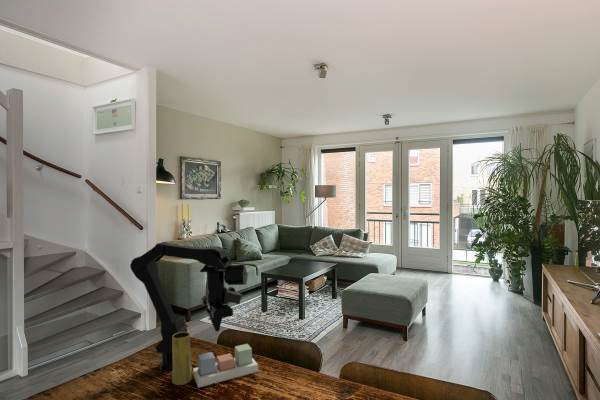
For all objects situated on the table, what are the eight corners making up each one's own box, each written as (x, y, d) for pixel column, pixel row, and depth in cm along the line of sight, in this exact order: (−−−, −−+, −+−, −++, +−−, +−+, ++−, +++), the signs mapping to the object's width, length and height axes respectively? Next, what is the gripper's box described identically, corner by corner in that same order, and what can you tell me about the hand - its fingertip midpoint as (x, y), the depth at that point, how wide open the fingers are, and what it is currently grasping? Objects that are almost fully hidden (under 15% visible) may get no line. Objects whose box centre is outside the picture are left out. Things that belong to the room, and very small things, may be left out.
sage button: (235, 361, 116) (234, 346, 116) (247, 358, 118) (247, 343, 118) (239, 367, 112) (238, 351, 112) (252, 363, 114) (251, 348, 114)
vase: (186, 386, 106) (184, 339, 105) (167, 384, 107) (166, 338, 107) (196, 376, 112) (194, 331, 111) (178, 374, 113) (177, 330, 113)
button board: (193, 375, 112) (193, 368, 112) (249, 361, 120) (249, 354, 120) (198, 387, 105) (198, 379, 105) (258, 371, 113) (257, 364, 113)
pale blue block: (198, 370, 111) (197, 355, 111) (212, 367, 113) (211, 351, 113) (201, 376, 107) (200, 360, 107) (215, 373, 109) (215, 357, 109)
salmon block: (217, 371, 113) (216, 356, 113) (230, 368, 116) (230, 353, 115) (220, 377, 110) (220, 361, 110) (234, 374, 112) (234, 358, 112)
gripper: (247, 287, 112) (249, 335, 113) (231, 276, 129) (232, 318, 129) (213, 292, 107) (214, 343, 108) (200, 280, 124) (201, 324, 124)
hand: (217, 331), depth 117 cm, fingers closed
